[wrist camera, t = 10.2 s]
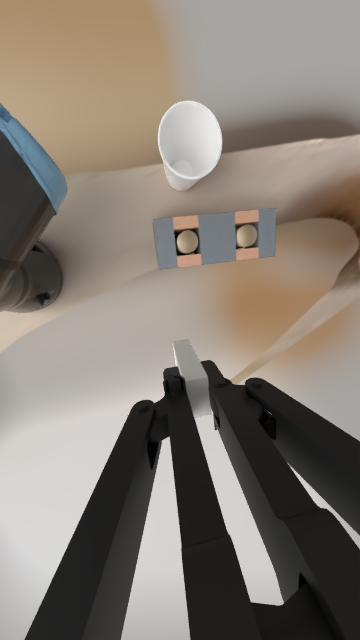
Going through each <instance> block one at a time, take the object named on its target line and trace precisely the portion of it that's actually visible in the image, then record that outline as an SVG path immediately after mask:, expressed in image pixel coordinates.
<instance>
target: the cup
mask: <svg viewBox="0 0 360 640" xmlns="http://www.w3.org/2000/svg"><path fill="white" fill-rule="evenodd" d="M158 147H159V151H160V153H161V157H162V159H163V163H164V168H165V173H166V177H167V180H168V182H169V184H170V185H171V186H172V187H173V188H174V189H176V190H178V191H185V190H188V189H189V188H191V187H192V186H193V185H194V184H195V183H196V182H197V181H199V180H200V179H201V178H202V177H204V176H206V175H208V174H209V173H210V172H211V171H212V170H213V169H214V167H215V166H216V165H217V163H218V161H219V158H220V155H221V151H222V133H221V129H220V126H219V123H218V121H217V119H216V117H215V116H214V114H213V113H212V112H211V111H210V110H209V109H208V108H207V107H206V106H204V105H203V104H200V103H198V102H196V101H190V100H189V101H181V102H178V103H176V104H175V105H173V106H171V108H169V109H168V111H166V113H165V114H164V116H163V118H162V120H161V122H160V125H159V130H158Z"/></svg>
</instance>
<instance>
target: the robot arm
mask: <svg viewBox="0 0 360 640" xmlns="http://www.w3.org/2000/svg"><path fill="white" fill-rule="evenodd" d="M66 194H67V183H66V180H65V177H64V175H63V174H62V172H61V171H60V169H59V168H58V166H57V165H56V164H55V162H54V161H53V160H52V159H51V157H50V156H49V155H48V154H47V153H46V151H45V150H44V149H43V148H42V147H41V145H40V144H39V143H38V142H37V141H36V140H35V139H34V138H33V136H31V134H30V133H29V132H28V131H27V130H26V129H25V128H24V127H23V126H22V125H21V124H20V123H19V121H18V120H17V119H15V118H14V117H12V116H11V115H10V113H9V112H8V111H7V110H6V109H5V108H4V107H3V105H2V104H1V103H0V312H1V311H10V312H18V313H26V312H33V311H36V310H39V309H42V308H44V307H46V306H48V305H49V304H51V303H52V302H53V301H54V300H55V299H56V297H57V296H58V294H59V292H60V289H61V285H62V275H61V270H60V267H59V265H58V262H57V261H56V259H55V257H54V256H53V255H52V254H51V252H50V251H49V250H48V249H47V248H45V247H44V246H43V245H41V244H40V243H38V242H37V240H38V239H39V237H40V236H41V234H42V233H43V231H44V229H45V228H46V226H47V225H48V223H49V222H50V220H51V219H52V217H53V216H54V215H55V216H56V215H57V214H58V208H59V206H60V205H61V203H62V201H63V199H64V198H65V196H66ZM172 343H173V349H174V356H175V363H176V367H172V368H166V369H165V370H164V372H163V375H164V381H163V385H164V391H165V396H164V397H163V398H162V399H161V400H160V401H158V402H156V403H153V401H151V400H142V401H139V402H137V403H136V404H135V405H134V406H133V407H132V409H131V411H130V414H129V415H128V418H127V420H126V422H125V424H124V426H123V428H122V430H121V433H120V435H119V437H118V439H117V441H116V443H115V446H114V448H113V450H112V452H111V454H110V457H109V459H108V461H107V463H106V465H105V467H104V469H103V472H102V474H101V476H100V478H99V480H98V482H97V484H96V487H95V489H94V491H93V493H92V495H91V497H90V500H89V502H88V504H87V506H86V508H85V510H84V513H83V515H82V517H81V519H80V521H79V523H78V526H77V528H76V530H75V532H74V534H73V536H72V538H71V540H70V543H69V545H68V547H67V549H66V551H65V553H64V556H63V558H62V560H61V562H60V564H59V566H58V569H57V571H56V573H55V575H54V577H53V579H52V582H51V584H50V586H49V588H48V590H47V592H46V594H45V597H44V599H43V601H42V603H41V605H40V607H39V609H38V612H37V614H36V616H35V619H34V620H33V622H32V625H31V627H30V629H29V631H28V633H27V636H26V638H25V640H121V635H122V630H123V625H124V621H125V615H126V611H127V606H128V602H129V597H130V592H131V587H132V582H133V577H134V573H135V568H136V564H137V559H138V553H139V549H140V544H141V539H142V535H143V530H144V525H145V521H146V516H147V511H148V506H149V502H150V497H151V492H152V487H153V482H154V478H155V473H156V468H157V464H158V459H159V454H160V449H161V443H162V440H163V439H165V438H167V437H169V436H170V443H171V453H172V461H173V471H174V479H175V489H176V497H177V507H178V516H179V525H180V534H181V543H182V549H181V550H182V563H183V573H184V582H185V591H186V600H187V609H188V620H189V629H190V638H191V640H360V550H359V548H358V547H357V545H356V544H355V542H354V541H353V540H352V538H351V537H350V536H349V534H348V533H347V532H346V530H345V529H344V528H343V526H342V525H341V524H340V522H339V521H338V520H337V518H336V517H335V516H334V515H333V514H332V513H331V512H330V511H329V510H327V509H324V508H320V507H318V506H317V505H316V503H314V501H313V500H312V498H311V497H310V495H309V494H308V492H307V491H306V489H305V488H304V487H303V485H302V484H301V482H300V481H299V479H298V478H297V477H296V475H295V474H294V472H293V471H292V469H291V468H290V466H291V467H292V468H294V470H295V471H296V472H297V473H298V474H299V475H300V476H301V477H302V478H303V479H304V480H305V481H306V482H307V483H308V484H310V486H311V487H312V488H313V489H314V490H315V491H316V492H317V493H318V494H319V495H320V496H321V497H322V498H323V499H324V500H325V501H326V502H327V503H328V504H329V505H330V506H331V507H332V508H333V509H334V510H335V511H336V512H337V513H338V514H339V515H340V516H341V517H342V518H343V519H344V520H345V521H346V522H347V523H348V524H349V525H350V526H351V527H352V528H353V529H354V530H355V531H356V532H357V533H358V534H359V535H360V441H358V440H357V439H355V438H354V437H352V436H351V435H349V434H348V433H346V432H344V431H343V430H341V429H340V428H338V427H337V426H335V425H334V424H332V423H330V422H329V421H327V420H326V419H324V418H323V417H321V416H320V415H318V414H317V413H315V412H313V411H312V410H310V409H309V408H307V407H306V406H304V405H303V404H301V403H299V402H298V401H296V400H295V399H293V398H292V397H290V396H289V395H287V394H285V393H284V392H282V391H281V390H279V389H278V388H276V387H275V386H273V385H272V384H270V383H268V382H267V381H265V380H263V379H261V378H249V379H248V380H246V382H245V385H235V384H232V382H231V381H230V380H229V379H226V378H224V377H223V375H222V374H221V372H220V371H219V370H218V368H217V366H216V365H215V363H214V362H212V361H211V360H207V361H202V362H200V361H199V359H198V357H197V355H196V353H195V351H194V349H193V347H192V345H191V344H190V341H189V339H185V340H180V341H174V342H172ZM211 409H212V411H213V416H214V425H215V430H217V429H218V431H219V434H220V436H221V439H222V441H223V444H224V446H225V449H226V451H227V453H228V456H229V458H230V461H231V463H232V466H233V468H234V470H235V473H236V476H237V478H238V481H239V483H240V485H241V488H242V490H243V493H244V495H245V498H246V500H247V503H248V505H249V508H250V510H251V513H252V515H253V518H254V520H255V522H256V525H257V528H258V530H259V533H260V535H261V538H262V540H263V542H264V545H265V547H266V550H267V552H268V555H269V557H270V560H271V562H272V565H273V567H274V570H275V573H276V576H277V579H278V583H279V587H280V591H281V595H282V598H283V601H284V604H283V605H280V606H276V605H268V604H260V603H252V602H250V598H249V595H248V592H247V588H246V585H245V581H244V578H243V575H242V572H241V568H240V565H239V561H238V558H237V555H236V551H235V548H234V545H233V542H232V539H231V537H230V535H229V534H228V532H227V530H226V526H225V523H224V519H223V516H222V513H221V509H220V506H219V502H218V499H217V495H216V492H215V488H214V485H213V481H212V478H211V474H210V471H209V468H208V464H207V460H206V457H205V454H204V450H203V447H202V443H201V440H200V436H199V433H198V429H197V426H196V422H195V419H194V418H197V417H202V416H206V415H211V414H212V412H211ZM269 412H270V413H271V414H272V415H271V414H270V413H269ZM288 464H289V465H290V466H289V465H288Z"/></svg>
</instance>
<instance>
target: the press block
mask: <svg viewBox="0 0 360 640" xmlns="http://www.w3.org/2000/svg"><path fill="white" fill-rule="evenodd" d="M244 225H252V226H254V227H255V229H256V231H257V239H256V241H255V242H254V244H252V245H251V246H247V247H245V249H239V250H236V236H235V228H240V227H242V226H244ZM153 230H154V237H155V244H156V252H157V259H158V267H159V269H168V268H177V267H186V266H194V265H203V264H212V263H220V262H228V261H237V260H246V259H254V258H264V257H272V256H275V233H276V208H270V209H259V210H248V211H237V212H226V213H214V214H203V215H192V216H181V217H170V218H158V219H153ZM186 230H189V231H192V232H194V233H195V234H196V236H197V238H198V245H197V248H196V249H195V250H194V254H193V255H184V256H177V254H176V245H175V236H174V234H181V233H182V232H183V231H186Z"/></svg>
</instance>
